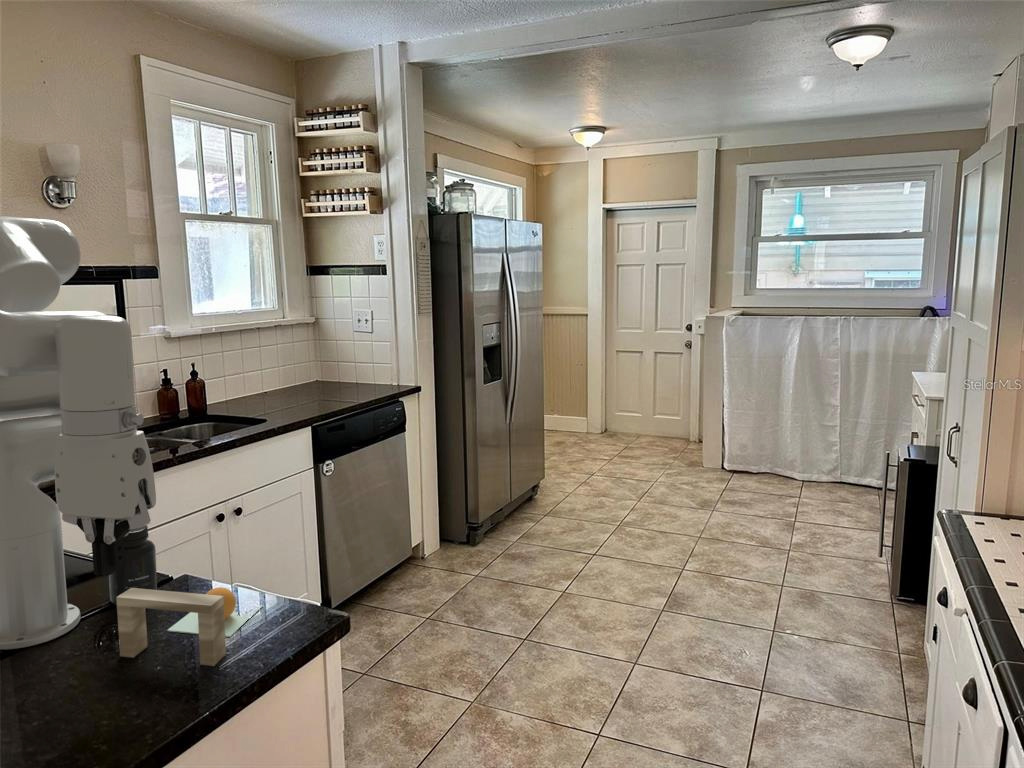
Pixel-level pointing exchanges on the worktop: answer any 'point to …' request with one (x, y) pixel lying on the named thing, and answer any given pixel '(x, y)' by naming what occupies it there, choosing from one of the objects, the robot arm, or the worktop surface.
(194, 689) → the worktop surface
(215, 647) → the bridge
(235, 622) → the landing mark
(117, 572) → the supplement bottle
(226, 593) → the ball
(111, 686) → the worktop surface
